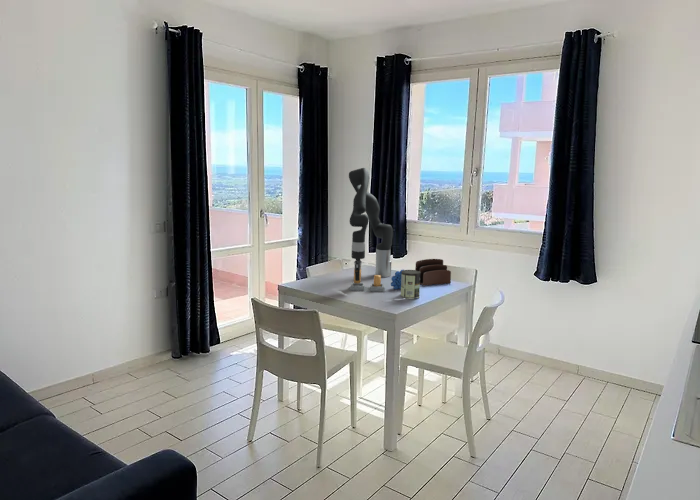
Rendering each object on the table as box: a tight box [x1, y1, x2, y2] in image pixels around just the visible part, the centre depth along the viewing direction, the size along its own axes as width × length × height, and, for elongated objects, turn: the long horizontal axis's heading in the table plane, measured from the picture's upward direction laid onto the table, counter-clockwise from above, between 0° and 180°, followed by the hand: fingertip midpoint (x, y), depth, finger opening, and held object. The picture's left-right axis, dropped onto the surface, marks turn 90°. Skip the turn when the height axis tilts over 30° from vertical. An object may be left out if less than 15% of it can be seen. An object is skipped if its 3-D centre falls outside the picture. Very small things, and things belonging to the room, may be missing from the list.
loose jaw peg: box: [353, 268, 362, 283], centre depth 288 cm, size 4×4×8 cm
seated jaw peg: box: [373, 274, 382, 287], centre depth 288 cm, size 4×4×8 cm
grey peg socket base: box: [348, 282, 386, 293], centre depth 289 cm, size 20×11×4 cm, turn 86°
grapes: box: [390, 269, 404, 290], centre depth 292 cm, size 12×7×12 cm, turn 109°
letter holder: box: [414, 258, 452, 286], centre depth 312 cm, size 10×20×14 cm, turn 114°
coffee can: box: [400, 269, 421, 300], centre depth 278 cm, size 10×10×14 cm
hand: (357, 279), depth 288 cm, fingers closed on loose jaw peg, 4 cm apart
